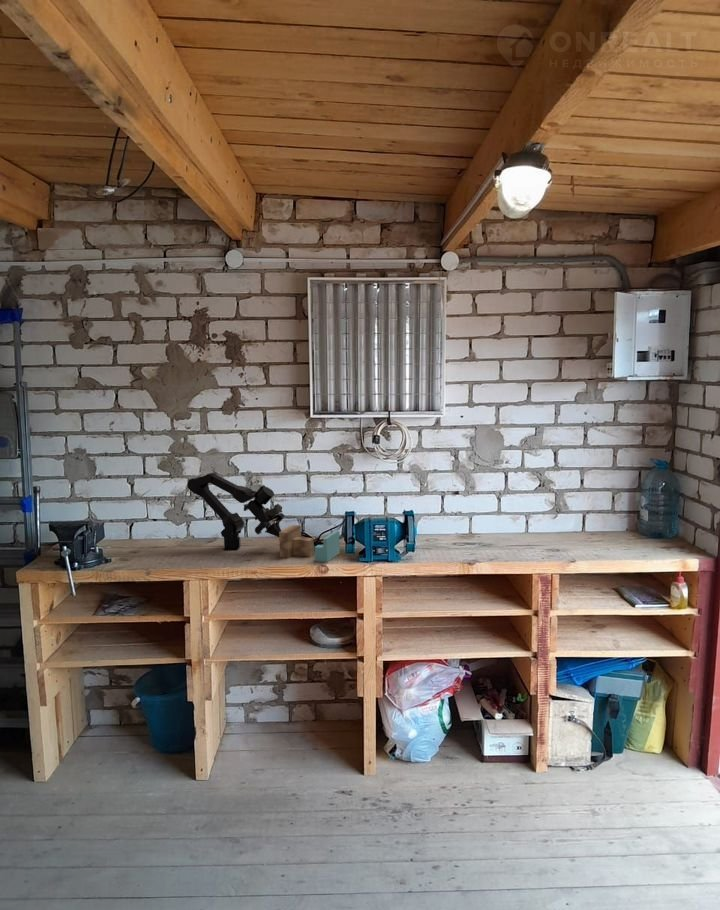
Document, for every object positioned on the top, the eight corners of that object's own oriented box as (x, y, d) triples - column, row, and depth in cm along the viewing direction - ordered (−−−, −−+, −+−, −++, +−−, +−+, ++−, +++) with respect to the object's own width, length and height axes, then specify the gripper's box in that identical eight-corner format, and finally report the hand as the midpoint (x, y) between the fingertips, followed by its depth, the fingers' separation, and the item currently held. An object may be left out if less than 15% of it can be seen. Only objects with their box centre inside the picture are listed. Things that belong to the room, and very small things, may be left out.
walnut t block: (280, 557, 270) (279, 532, 269) (293, 549, 283) (292, 525, 281) (305, 559, 266) (304, 534, 265) (318, 551, 278) (317, 526, 277)
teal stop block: (314, 561, 264) (314, 537, 263) (328, 551, 277) (327, 529, 276) (327, 562, 262) (326, 538, 261) (339, 552, 276) (339, 530, 274)
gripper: (259, 503, 267) (284, 531, 265) (280, 495, 284) (303, 520, 282) (244, 520, 271) (268, 547, 268) (265, 511, 288) (288, 536, 286)
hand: (282, 537), depth 276 cm, fingers closed
